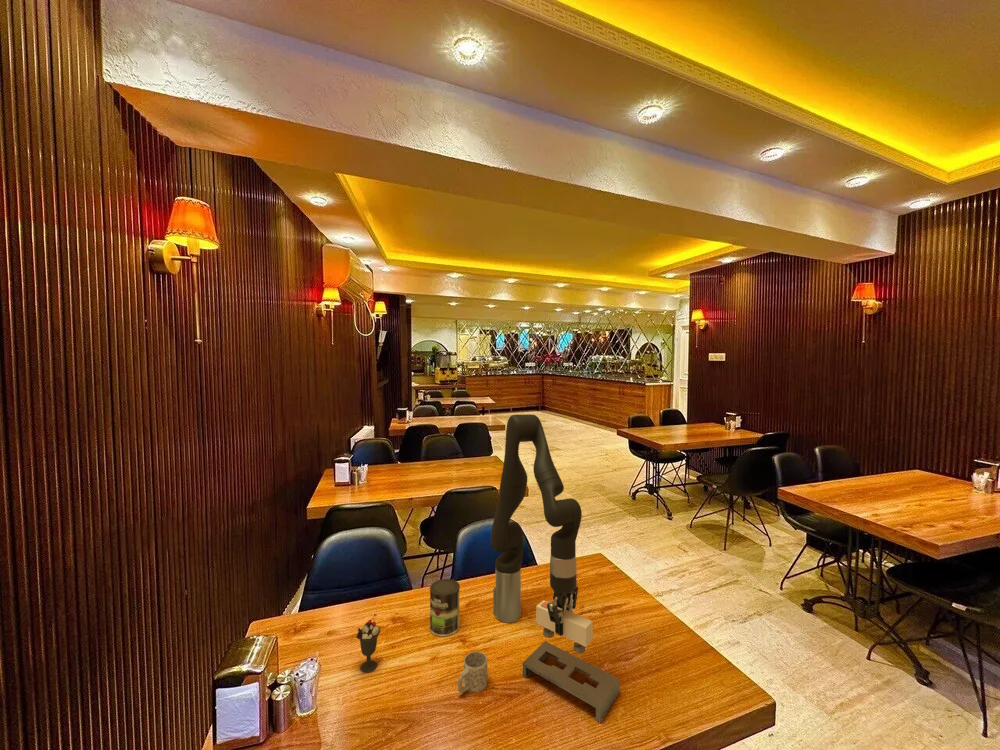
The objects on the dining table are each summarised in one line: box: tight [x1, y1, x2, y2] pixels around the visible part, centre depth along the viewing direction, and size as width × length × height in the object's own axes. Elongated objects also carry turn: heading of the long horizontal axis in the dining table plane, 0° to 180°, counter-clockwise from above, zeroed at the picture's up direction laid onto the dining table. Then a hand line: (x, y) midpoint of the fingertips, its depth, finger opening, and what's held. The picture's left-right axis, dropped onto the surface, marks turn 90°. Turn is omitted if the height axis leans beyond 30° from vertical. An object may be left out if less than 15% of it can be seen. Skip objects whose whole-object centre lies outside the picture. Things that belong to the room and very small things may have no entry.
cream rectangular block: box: [535, 599, 594, 654], centre depth 111 cm, size 16×4×8 cm, turn 51°
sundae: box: [356, 613, 381, 674], centre depth 117 cm, size 7×7×15 cm
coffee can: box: [429, 578, 461, 638], centre depth 135 cm, size 10×10×14 cm
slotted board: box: [522, 640, 620, 723], centre depth 110 cm, size 24×12×4 cm, turn 51°
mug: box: [457, 650, 488, 694], centre depth 109 cm, size 10×7×7 cm, turn 141°
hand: (563, 629), depth 111 cm, fingers closed on cream rectangular block, 4 cm apart
